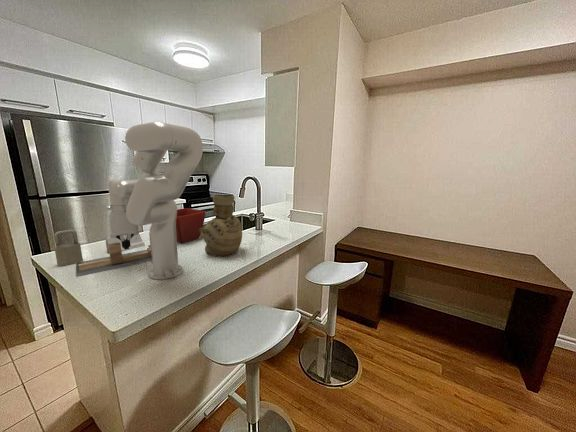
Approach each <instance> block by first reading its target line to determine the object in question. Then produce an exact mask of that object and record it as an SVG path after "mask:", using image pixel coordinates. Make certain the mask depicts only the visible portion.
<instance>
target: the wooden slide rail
mask: <svg viewBox="0 0 576 432" xmlns="http://www.w3.org/2000/svg"><path fill="white" fill-rule="evenodd" d="M142 252H147V249H143V250H137V251H133V252H128V253H122V256H126V255H131V254H137V253H142ZM105 259H110V256H106V257H100V258H94V259H89V260H88V259H87V260H83V261H80V262H77V263H75V275H76V277H82V276H87V275H90V274H91V275H92V274H96V273H100V272H105V271H109V270H115V269H119V268H123V267H129V266H133V265H137V264H143V263H147V262H152V257H144V258H139V259H135V260H130V261H125V262H121V263H116V264H110V265H105V266H100V267H95V268H90V269H85V270H80V271H79V264H83V263H89V262H94V261H99V260H105Z"/></svg>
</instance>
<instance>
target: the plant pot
mask: <svg viewBox="0 0 576 432" xmlns="http://www.w3.org/2000/svg"><path fill="white" fill-rule="evenodd" d="M205 218H206V210H200V209H194V208H188V207H186V208H185V207H184V208H179V209H178V208H177V216H176V238H177V244H178V243H179V244H184V242H185V243H187V242H190V241H191V242H192V241H194V240H198V239H199V238H200V232H199V229H200V228H202V227H204V224H205V220H206V219H205Z"/></svg>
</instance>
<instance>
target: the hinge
mask: <svg viewBox="0 0 576 432" xmlns="http://www.w3.org/2000/svg"><path fill="white" fill-rule="evenodd" d="M123 237H124V239H125V240H126V238H127V234H126V235H123ZM112 243H120V244H121V251H122V253H124V252H126V251H130V250H133V249H137V248H141V247H144V246H146V244H145V242H144V241H143V240H142V237H141V235H140V233H139V234H137V235H134V236H133V237H132V238H131V240H130V245H131V246H130V247H129V249H126V250H125V249H124V248H122V241H121V240H119V239H117V238H110V236H109V237H107V238H106V239H105V245H106V246H105V247H106V253H109V246H108V244H112Z"/></svg>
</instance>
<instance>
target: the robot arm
mask: <svg viewBox="0 0 576 432" xmlns="http://www.w3.org/2000/svg"><path fill="white" fill-rule="evenodd" d="M124 137H125V138H124V139H125V144H126V146H127V148H129V150H131V151H133V152H135V154H134V155H133V156H132V164H133V165H134V166H135V167H136V168H137V169H138V170H140V171H141V172H143V173H146V175H144V176H141V177H140V178H139V179H110V180H108V182H107V186H108V187H107V189H108V194H109V196H108V197H109V201H110V202H109V203H110V205H109V206H106V211H109V215H108V218H109V219H108V222H109V223H108V224H109V232H110V235H109V237H110V238H117V239H119V240H121V241H122V248H124V249H125V250H126V249H129V247H130V246H131V245H130V240H131V238H132V237H133V236H134V235H137V234H140V232H139V227H140V226H141V227H142V226H147V225H151V226H150V228H149V231H148V232H149V245H150V247H151V257H152V261H151V266H152V269H151V270H149V271H148V277H149V278H150V279H153V280H166V279H172V278H174V277H177V276H179V275H181V274H182V273H183V271H184V267H183V266H182V265H180V263H179V253H178V242H177V238H176V216H177V209H178V207H177V206H178V205H177V203H176V201H175V200H177V199H179V198H180V197H181V196H182V194H183V192H184V191H185V188H186V187H187V185H188V182H189V180H190V178H191V176H192V175H193V173H194V171H195V170H196V168H197V166H198V165H199V163H200V161H201V159H202V157H203V153H204V152H203V150H204V147H203V146H204V144H203V140H202V138H201V136H200V134H199V133H198V132H197V131H195V129H194V130H193V129H192V128H189V127H186V126H183V125H177V124H171V123H166V122H160V121H153V122H146V123H141V124H136V125H132V126H131V127H129V129H128V130H127V131H126V133H125V136H124ZM168 151H170V152H172V151H173V152H178V153H177V154H175V155H174V156H172V157H171V159H170V160H169V161H168V162H167V164H166V167H165V168H164V170H163V172H162V173H161V174H159V171H158V167H159V165H160V164H161V162H162V160H163V158H164V157H165V155H166V153H167V152H168ZM126 234H127V238H126V240H125V239H124V237H123V235H126Z"/></svg>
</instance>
